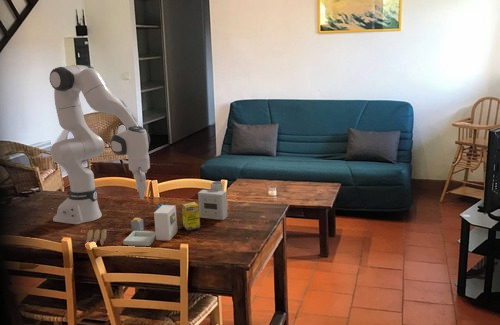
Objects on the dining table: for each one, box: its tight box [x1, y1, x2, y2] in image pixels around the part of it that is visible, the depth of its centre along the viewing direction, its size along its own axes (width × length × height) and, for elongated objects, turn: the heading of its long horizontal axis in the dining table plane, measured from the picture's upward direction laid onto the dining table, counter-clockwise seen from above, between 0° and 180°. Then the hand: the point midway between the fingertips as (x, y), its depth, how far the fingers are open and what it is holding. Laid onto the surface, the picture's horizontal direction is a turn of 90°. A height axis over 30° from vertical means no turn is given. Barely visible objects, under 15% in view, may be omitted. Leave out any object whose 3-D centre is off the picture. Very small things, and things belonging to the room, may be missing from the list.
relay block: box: [130, 217, 145, 233], centre depth 230 cm, size 4×4×6 cm
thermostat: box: [197, 181, 228, 221], centre depth 247 cm, size 12×14×15 cm
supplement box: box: [181, 201, 201, 232], centre depth 231 cm, size 6×6×11 cm
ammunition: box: [85, 228, 107, 246], centre depth 220 cm, size 5×7×8 cm
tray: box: [122, 230, 157, 247], centre depth 220 cm, size 11×11×2 cm
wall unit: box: [153, 204, 178, 241], centre depth 223 cm, size 7×10×12 cm
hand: (141, 195), depth 226 cm, fingers open, 8 cm apart
